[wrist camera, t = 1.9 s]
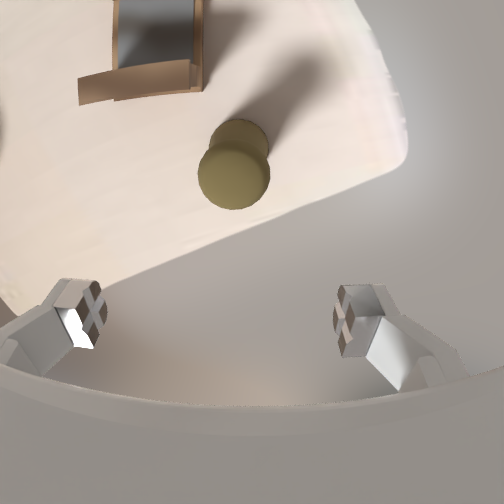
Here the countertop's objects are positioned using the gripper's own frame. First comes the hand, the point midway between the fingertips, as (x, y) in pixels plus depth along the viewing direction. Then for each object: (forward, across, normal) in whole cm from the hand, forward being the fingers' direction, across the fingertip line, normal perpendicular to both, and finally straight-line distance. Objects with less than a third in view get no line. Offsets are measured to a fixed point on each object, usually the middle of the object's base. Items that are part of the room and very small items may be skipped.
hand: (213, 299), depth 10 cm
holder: (+23, +8, -13) cm, 27 cm away
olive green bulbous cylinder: (+23, 0, 0) cm, 23 cm away
